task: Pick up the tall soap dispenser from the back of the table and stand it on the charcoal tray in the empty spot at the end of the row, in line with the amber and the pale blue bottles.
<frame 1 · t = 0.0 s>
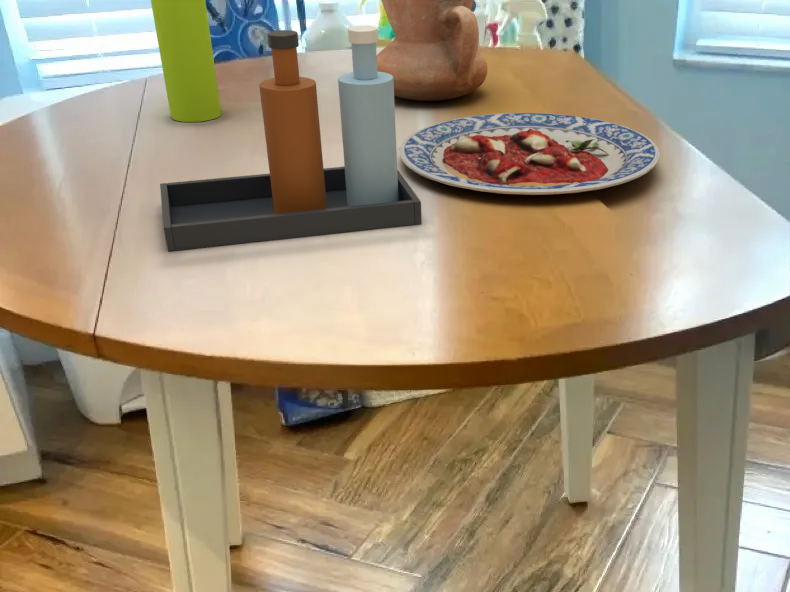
amber bottle: (301, 213, 85), resting on tray
tray: (290, 223, 85), on the table
pale blue bottle: (373, 205, 86), resting on tray
soap dispenser: (197, 118, 114), on the table
ceramic jug: (432, 97, 121), on the table
ceramic plate: (527, 171, 97), on the table
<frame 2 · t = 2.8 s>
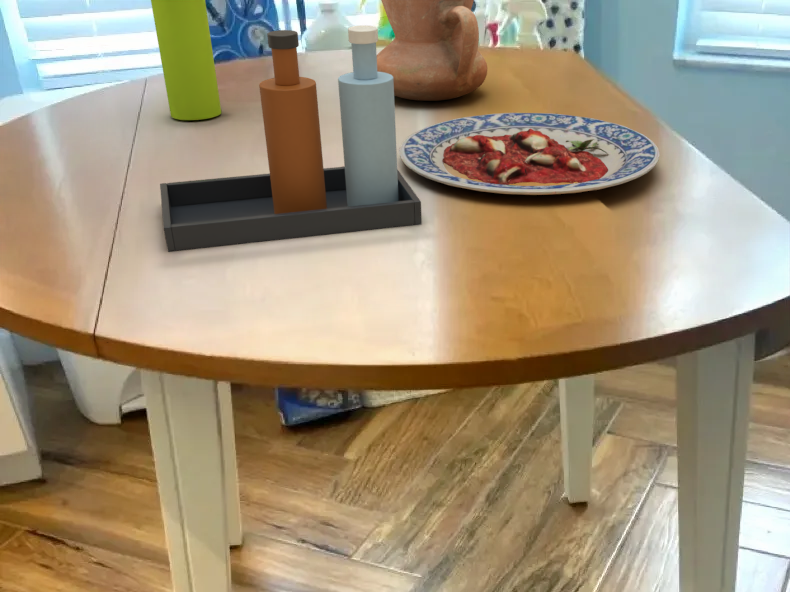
soap dispenser: (197, 117, 114), on the table, touching gripper
everything else where it was.
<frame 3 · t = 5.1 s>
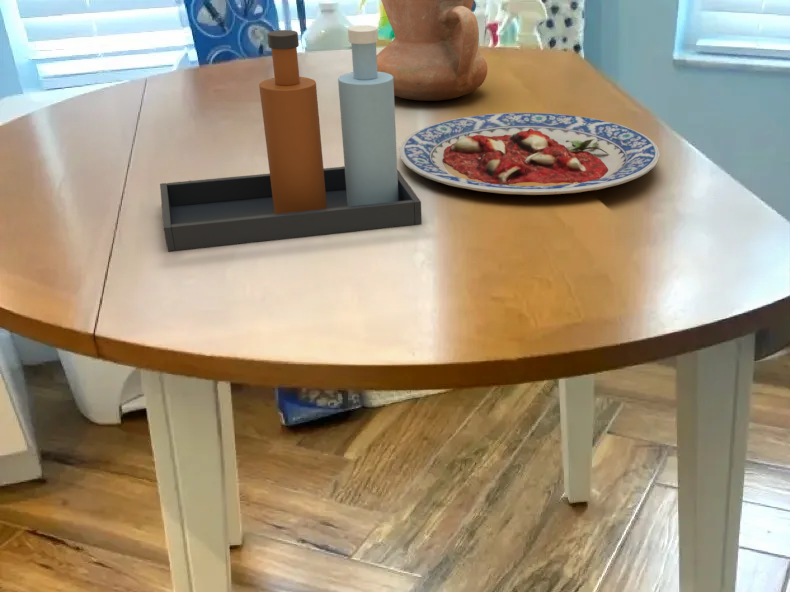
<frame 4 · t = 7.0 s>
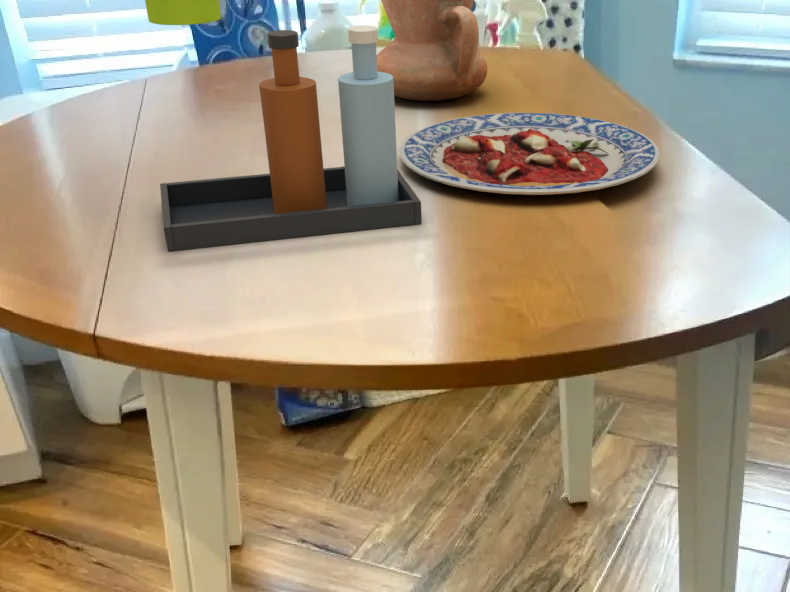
soap dispenser: (187, 22, 79), point 16 cm above the table, touching gripper
everything else where it was.
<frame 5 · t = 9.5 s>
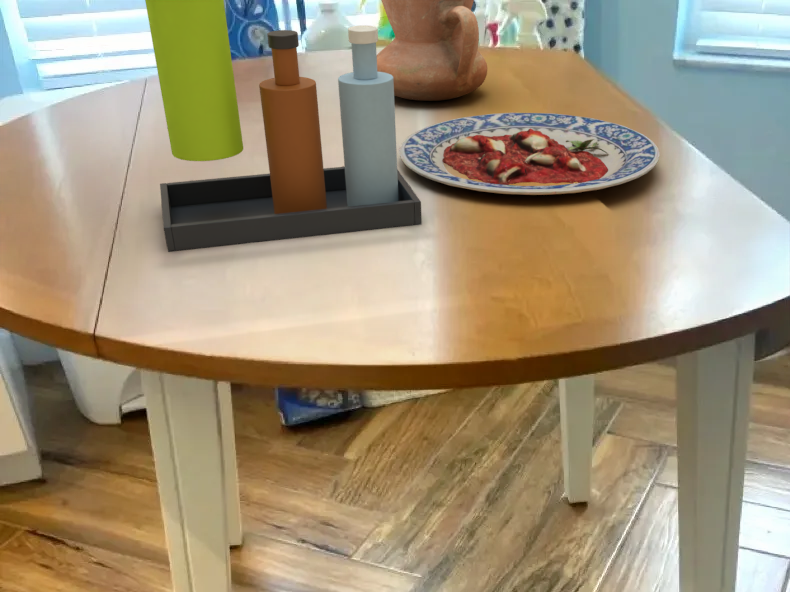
soap dispenser: (209, 155, 80), point 6 cm above the table, touching gripper
everything else where it was.
when the fingers open (16 cm above the table, at t = 11.4 s): soap dispenser stays where it is, resting on tray.
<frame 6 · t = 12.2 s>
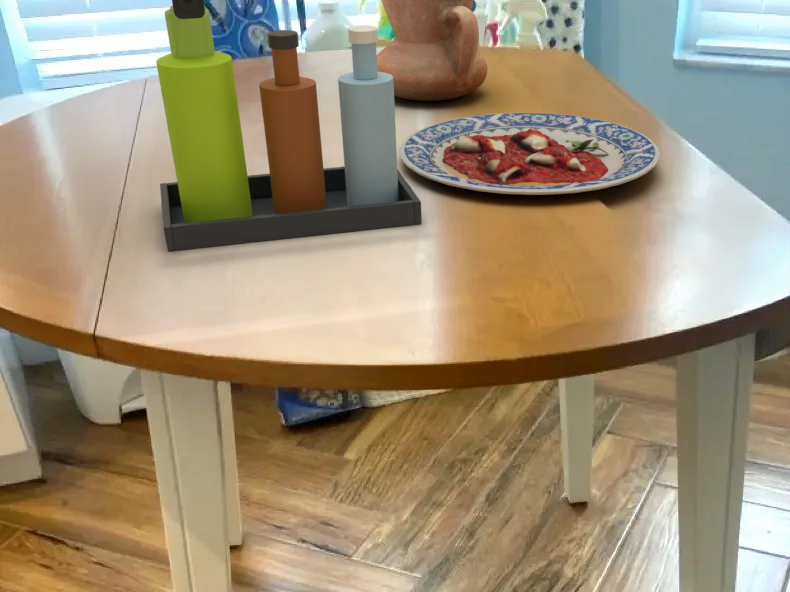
hand: (187, 7, 73), 18 cm above the table, tool pointing down, fingers open, 8 cm apart
soap dispenser: (220, 221, 84), point 1 cm above the table, touching tray
everything else where it was.
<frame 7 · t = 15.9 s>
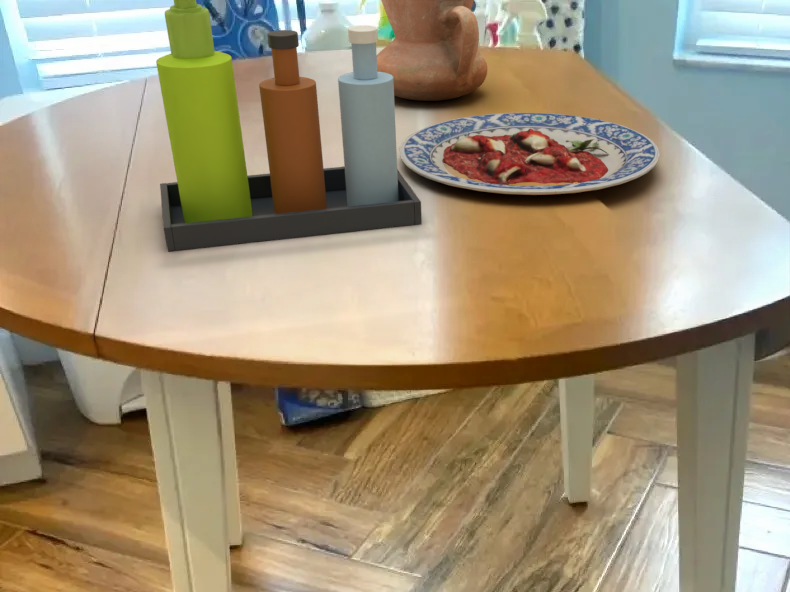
nothing on the table moved.
at the end: soap dispenser 0.5 cm from the target spot in the tray, point 0.6 cm above the tray's base; soap dispenser tilted 0°; the gripper is holding nothing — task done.
